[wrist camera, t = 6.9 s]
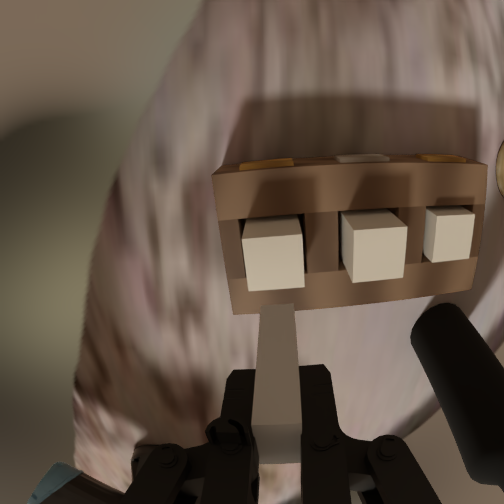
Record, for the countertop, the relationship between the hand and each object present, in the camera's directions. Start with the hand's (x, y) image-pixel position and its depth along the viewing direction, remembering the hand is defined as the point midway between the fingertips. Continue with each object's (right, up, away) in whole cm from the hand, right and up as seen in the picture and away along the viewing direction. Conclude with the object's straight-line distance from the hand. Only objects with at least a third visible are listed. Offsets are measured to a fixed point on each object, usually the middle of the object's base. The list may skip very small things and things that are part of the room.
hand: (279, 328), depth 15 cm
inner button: (+1, +5, +12) cm, 13 cm away
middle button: (+8, +5, +11) cm, 15 cm away
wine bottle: (+21, -6, +18) cm, 29 cm away
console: (+8, +7, +14) cm, 17 cm away
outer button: (+16, +7, +12) cm, 21 cm away
